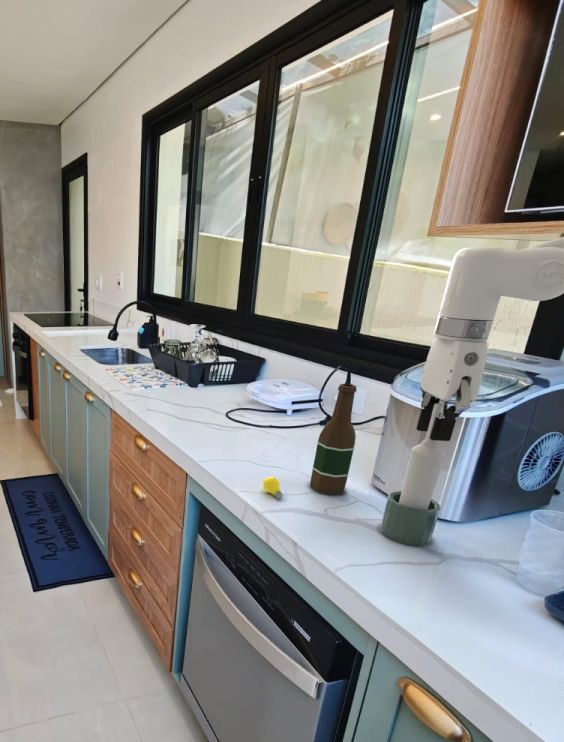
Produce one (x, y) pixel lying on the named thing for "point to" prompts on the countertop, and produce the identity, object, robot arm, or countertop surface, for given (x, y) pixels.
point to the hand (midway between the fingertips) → (432, 434)
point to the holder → (409, 521)
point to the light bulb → (272, 486)
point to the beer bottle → (335, 446)
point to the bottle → (422, 470)
